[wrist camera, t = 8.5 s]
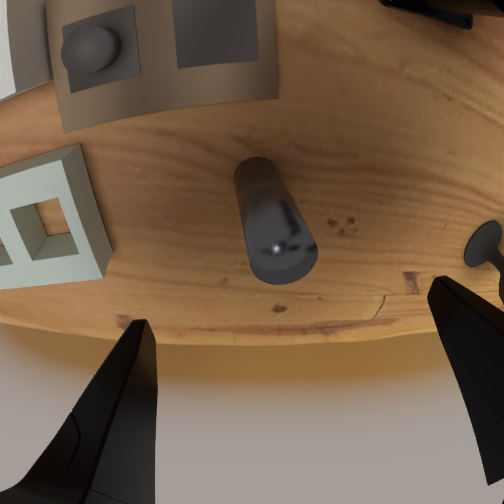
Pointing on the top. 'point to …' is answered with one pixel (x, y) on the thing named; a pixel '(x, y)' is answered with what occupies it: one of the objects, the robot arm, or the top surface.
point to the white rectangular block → (23, 47)
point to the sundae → (486, 250)
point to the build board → (32, 231)
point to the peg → (272, 224)
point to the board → (158, 56)
